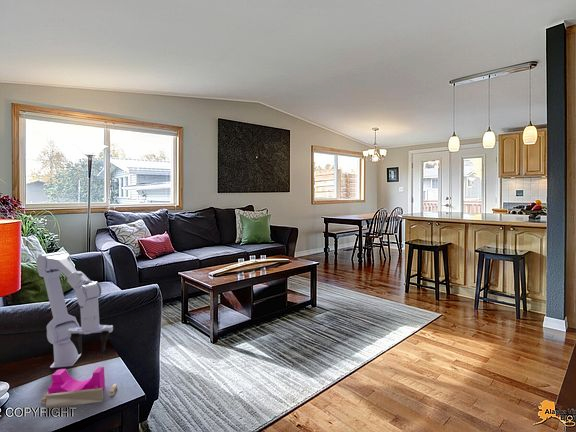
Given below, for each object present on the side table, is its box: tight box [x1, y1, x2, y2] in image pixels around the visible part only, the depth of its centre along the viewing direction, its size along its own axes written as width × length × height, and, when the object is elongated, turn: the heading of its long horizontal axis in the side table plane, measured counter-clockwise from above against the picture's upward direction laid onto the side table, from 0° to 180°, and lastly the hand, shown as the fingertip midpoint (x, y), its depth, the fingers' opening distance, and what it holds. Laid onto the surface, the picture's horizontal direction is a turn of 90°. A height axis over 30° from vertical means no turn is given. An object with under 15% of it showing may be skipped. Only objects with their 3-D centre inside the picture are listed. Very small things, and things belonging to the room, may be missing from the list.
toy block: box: [47, 366, 106, 394], centre depth 116 cm, size 15×6×8 cm, turn 96°
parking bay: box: [40, 383, 118, 409], centre depth 114 cm, size 7×21×4 cm, turn 102°
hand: (91, 352), depth 126 cm, fingers open, 7 cm apart
